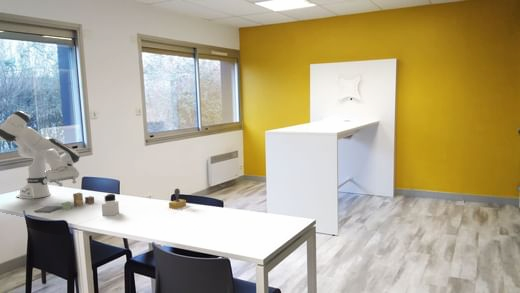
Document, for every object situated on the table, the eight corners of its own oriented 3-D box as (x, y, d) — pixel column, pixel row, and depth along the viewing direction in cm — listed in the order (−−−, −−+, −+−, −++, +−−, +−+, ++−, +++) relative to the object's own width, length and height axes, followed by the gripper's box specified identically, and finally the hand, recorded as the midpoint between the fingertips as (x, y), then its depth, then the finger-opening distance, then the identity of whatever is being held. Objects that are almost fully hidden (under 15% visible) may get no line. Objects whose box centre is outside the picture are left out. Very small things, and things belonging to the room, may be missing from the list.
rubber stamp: (175, 209, 248) (174, 190, 246) (168, 208, 251) (167, 189, 249) (186, 205, 256) (185, 187, 255) (179, 204, 259) (178, 186, 258)
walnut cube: (85, 203, 267) (84, 197, 267) (90, 201, 271) (90, 196, 270) (88, 204, 265) (88, 198, 265) (94, 202, 268) (93, 196, 268)
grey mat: (34, 212, 248) (34, 210, 247) (47, 207, 258) (47, 205, 258) (49, 212, 245) (49, 211, 245) (61, 207, 256) (61, 206, 256)
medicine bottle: (119, 212, 243) (117, 193, 242) (113, 215, 236) (112, 196, 235) (108, 212, 244) (106, 193, 242) (102, 215, 237) (100, 196, 235)
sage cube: (62, 208, 254) (61, 202, 254) (68, 207, 258) (67, 201, 257) (65, 209, 252) (65, 203, 252) (71, 208, 255) (71, 202, 255)
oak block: (74, 205, 261) (73, 193, 260) (79, 204, 264) (78, 192, 263) (77, 206, 259) (76, 194, 258) (83, 205, 262) (82, 193, 261)
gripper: (45, 167, 260) (54, 184, 255) (74, 163, 277) (83, 178, 272) (42, 174, 263) (50, 190, 259) (71, 169, 280) (80, 184, 275)
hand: (68, 184), depth 265 cm, fingers open, 8 cm apart
